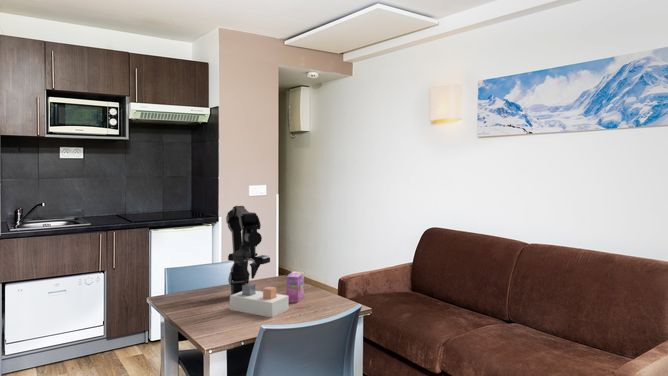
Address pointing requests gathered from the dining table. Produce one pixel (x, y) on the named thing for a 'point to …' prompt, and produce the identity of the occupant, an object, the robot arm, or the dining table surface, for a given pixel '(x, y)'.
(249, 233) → the robot arm
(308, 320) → the dining table surface
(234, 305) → the white rectangular block
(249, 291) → the metallic grey block
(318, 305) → the dining table surface
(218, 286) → the dining table surface
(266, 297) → the peach square block
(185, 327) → the dining table surface
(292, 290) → the box
